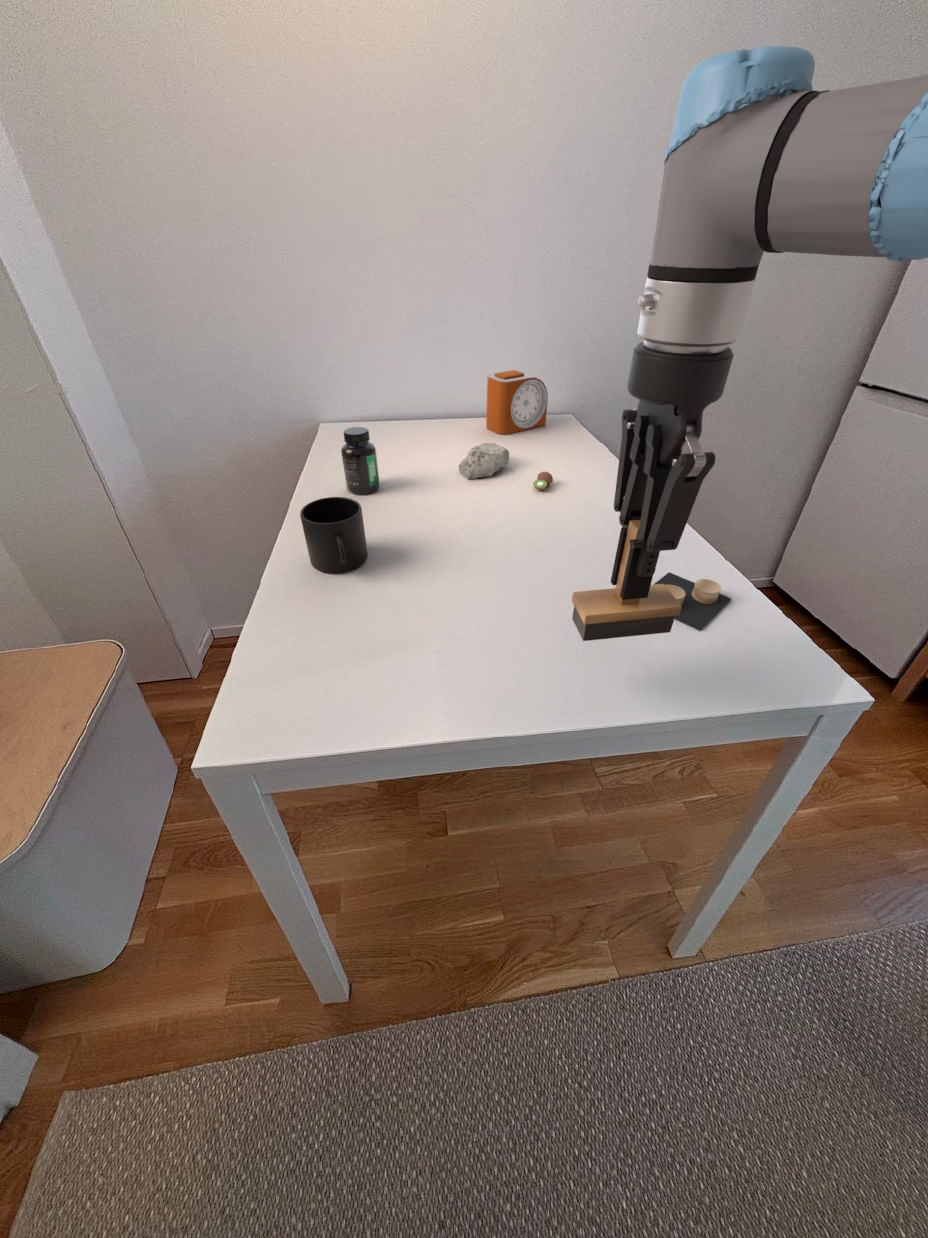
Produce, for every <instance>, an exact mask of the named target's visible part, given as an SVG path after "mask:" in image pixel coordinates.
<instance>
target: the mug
mask: <svg viewBox="0 0 928 1238" xmlns="http://www.w3.org/2000/svg"><path fill="white" fill-rule="evenodd" d="M299 515H300V521H301V525H302V530H303V534H304V535H303V536H304V538H305V539H304V540H305V543H306V548H307V552H308V557H309V561H310V564H311V566H312V567H313V569H315V570H317V571H319V572H321V573H325V574H344V573H349V572H352V571H354V570H356V569H359V568H361V566H363V565H364V564H365V563H366V561H367V559H368V556H369V554H368V553H369V552H368V545H367V537H366V531H365V523H364V516H363V509H362V505H361V504H360V502H359V501H357V500H355V499H354V498H351V497H345V496H329V497H323V498H319V499H315V500H313V501H310V502H309V503H307V504H305V505H304V506H303V507H302V508H301V510H300V512H299Z"/></svg>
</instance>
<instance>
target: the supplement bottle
mask: <svg viewBox="0 0 928 1238" xmlns="http://www.w3.org/2000/svg"><path fill="white" fill-rule="evenodd" d="M370 440H371V437H370V432H369V429H368V428H367V427H363V426H352V427H348V428H346V429H344V430H343V441H344V444H343V445H342V446H341V450H340V453H341V459H342V460H341V461H342V466H343V473H344V480H345V484H346V485H345V486H346V490H347V491H348V492H349V493H350V494H353V495H357V496H364V495H371V494H373V493H376V492H377V491H378V490H379V489H380V476H379V475H380V474H379V465H378V457H377V448H376V446H375V444H374V443H372V442H371V441H370Z"/></svg>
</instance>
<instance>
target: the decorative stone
mask: <svg viewBox="0 0 928 1238" xmlns="http://www.w3.org/2000/svg"><path fill="white" fill-rule="evenodd" d="M509 460H510V451H509V450H508V448H507V447H505V446H501V445H499V444H496V443H494V442H484V443H481V444H478V445H475V446H473V447H472V448H471V449H470V450H469V451H468V453H467V455H466V457H465V458H463V459H462V460H461V462H460V463H459V464H458V471H459V473H460V474H462V476H463V477H465V478H466V479H467V480H475V479H477V478H491V477H492V476H493V475H494V474H495V473H496V472H498V471H499V470H500V469H501V468H502V467H505V466H506V465H507V464H509Z"/></svg>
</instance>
